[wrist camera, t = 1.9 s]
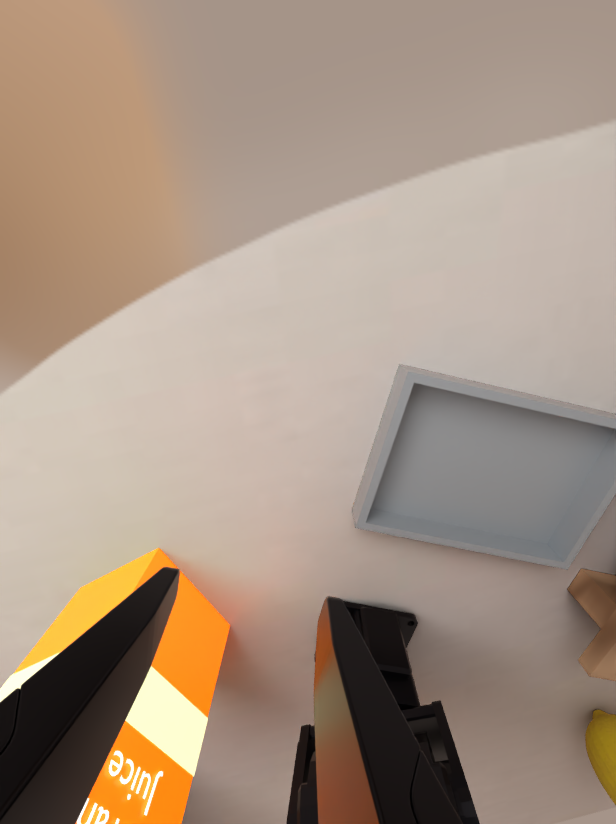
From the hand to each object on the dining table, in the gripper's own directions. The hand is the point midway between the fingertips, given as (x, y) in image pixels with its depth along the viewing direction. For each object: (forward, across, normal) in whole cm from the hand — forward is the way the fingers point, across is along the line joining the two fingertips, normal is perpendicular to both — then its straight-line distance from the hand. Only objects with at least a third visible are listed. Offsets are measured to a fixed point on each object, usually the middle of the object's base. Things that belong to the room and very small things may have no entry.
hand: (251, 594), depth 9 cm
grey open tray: (+12, -12, 0) cm, 17 cm away
